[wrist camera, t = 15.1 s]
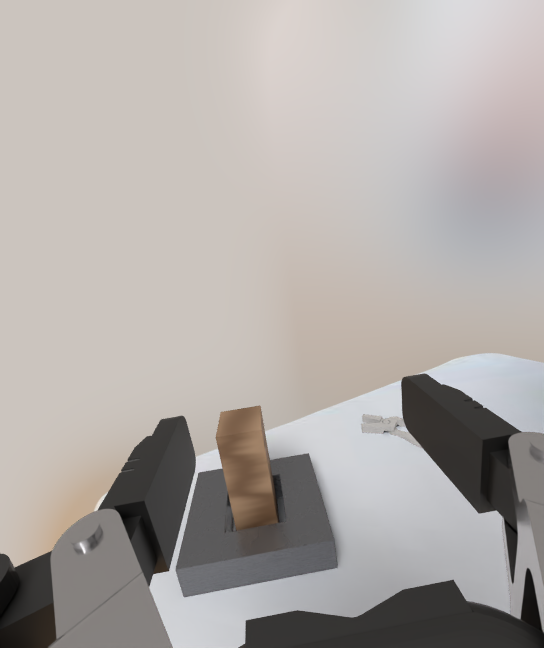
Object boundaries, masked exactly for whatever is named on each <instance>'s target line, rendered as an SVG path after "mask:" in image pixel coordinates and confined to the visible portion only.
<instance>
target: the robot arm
mask: <svg viewBox="0 0 544 648" xmlns="http://www.w3.org/2000/svg"><path fill="white" fill-rule="evenodd" d="M401 387H402V413H403V420H404V423H405V426H406V428H407V430H408V431H409V433H410V434H411V435H412V436H413V437H414V438H415V440H416V441H417V442H418V443H419V444H420V445H421V447H422V448H423V449H424V450H425V451H426V452H427V454H428V455H429V456H430V457H431V458H432V459H433V461H434V462H435V463H436V464H437V465H438V466H439V468H440V469H441V470H442V471H443V472H444V473H445V475H446V476H447V477H448V478H449V479H450V480H451V482H452V483H453V484H454V485H455V486H456V487H457V489H458V490H459V491H460V492H461V493H462V494H463V495H464V497H465V498H466V499H467V500H468V501H469V502H470V504H471V505H472V506H473V507H474V508H475V509H476V511H477V512H478V513H479V514H480V513H485V512H490V511H495V510H497V511H498V512H499V513H500V514H501V516H502V532H503V541H504V550H505V559H506V568H507V577H508V586H509V595H510V614H508V613H506V612H503V611H501V610H498V609H495V608H493V607H490V606H487V605H483V604H479V603H475V602H469V601H466V600H465V598H464V596H463V595H462V593H461V592H460V590H459V588H458V587H457V585H456V583H455V582H454V580H450V581H445V582H440V583H435V584H430V585H425V586H420V587H415V588H409V589H404V590H402V591H400V592H399V593H397V594H395V595H394V596H392V597H390V598H389V599H387V600H385V601H384V602H382V603H380V604H379V605H377V606H375V607H374V608H372V609H370V610H369V611H367V612H365V613H364V614H362V615H360V616H358V617H354V618H351V617H342V616H335V615H328V614H320V613H313V612H305V611H298V610H297V611H292V612H287V613H282V614H277V615H272V616H267V617H261V618H256V619H251V620H246V639H245V644H244V645H242V646H240V647H239V648H544V434H541V433H535V432H521V431H519V430H518V429H516V428H515V427H513V426H512V425H510V424H509V423H507V422H506V421H504V420H503V419H502V418H500V417H499V416H497V415H496V414H494V413H493V412H491V411H490V410H488V409H487V408H483V406H482V405H481V404H479V403H478V402H476V401H473V400H472V398H471V397H469V396H468V395H466V394H465V393H463V392H462V391H460V390H458V389H455V388H452V387H450V386H447V385H444V384H443V385H441V384H440V383H438V382H437V381H436V380H434V379H433V378H431V377H430V376H429V375H427V374H419V375H413V376H408V377H404V378H403V379H402V382H401ZM195 465H196V459H195V452H194V448H193V444H192V441H191V437H190V433H189V430H188V426H187V422H186V419H185V418H184V416H178V417H173V418H167V419H162V420H160V422H159V424H158V425H157V428H156V429H155V431H154V433H153V435H152V436H147V437H146V438H145V439H144V440H143V441H142V442H140V443H139V445H137V446H136V447H135V448H134V450H133V452H132V453H131V455H130V457H129V458H128V462H126V463H125V465H124V467H123V468H122V470H121V471H122V472H121V473H119V475H118V477H117V478H116V480H115V482H114V484H113V485H112V487H111V489H110V490H109V492H108V494H107V495H106V497H105V499H104V500H103V502H102V504H101V505H100V507H99V509H98V510H97V511H95V512H93V513H90V514H88V515H87V516H85V517H83V518H81V519H80V520H78V521H77V522H76V523H74V524H73V525H72V526H71V527H70V528H69V529H67V530H66V532H65V533H64V534H63V535H62V536H61V537H60V539H59V540H58V541H57V543H56V544H55V546H54V549H53V550H52V551H51V552H48V553H46V554H44V555H42V556H39V557H37V558H35V559H33V560H30V561H28V562H26V563H24V564H21V565H20V566H17V567H15V568H14V566H13V564H12V563H11V561H10V559H9V557H8V556H7V555H5V554H0V648H173V647H172V644H171V642H170V639H169V637H168V634H167V632H166V629H165V627H164V624H163V622H162V619H161V617H160V614H159V612H158V609H157V607H156V604H155V602H154V599H153V597H152V594H151V592H150V589H149V586H150V583H151V579H152V576H153V574H156V573H161V572H167V571H169V568H170V565H171V561H172V557H173V553H174V549H175V545H176V541H177V538H178V534H179V530H180V526H181V522H182V518H183V514H184V511H185V507H186V503H187V499H188V495H189V491H190V488H191V484H192V480H193V476H194V472H195Z"/></svg>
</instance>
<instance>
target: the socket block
mask: <svg viewBox="0 0 544 648" xmlns="http://www.w3.org/2000/svg"><path fill="white" fill-rule="evenodd" d="M270 465H271V471H272V477H273V483H274V488H275V494H276V498H279V497H283V500H284V508H285V515H286V522H281V523H275V524H270V525H265V526H259V527H254V528H248V529H243V530H238V531H232V521H233V513H232V508H231V504H230V499H229V495H228V490H227V486H226V481H225V477H224V472H223V469H217V470H212V471H206V472H200V473H198V478H197V482H196V486H195V490H194V494H193V499H192V503H191V507H190V511H189V515H188V520H187V524H186V528H185V532H184V537H183V541H182V545H181V549H180V553H179V558H178V562H177V566H176V573H177V576H178V580H179V583H180V586H181V589H182V593H183V596H184V597H187V596H193V595H198V594H203V593H208V592H213V591H219V590H224V589H229V588H234V587H239V586H244V585H250V584H255V583H260V582H265V581H270V580H276V579H281V578H286V577H291V576H296V575H302V574H307V573H312V572H317V571H322V570H327V569H333V568H337V560H336V551H335V542H334V537H333V534H332V531H331V527H330V524H329V520H328V517H327V514H326V510H325V507H324V504H323V500H322V497H321V493H320V490H319V487H318V483H317V480H316V476H315V473H314V470H313V466H312V463H311V460H310V456H309V453H308V454H302V455H297V456H291V457H285V458H280V459H274V460H270Z"/></svg>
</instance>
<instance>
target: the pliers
mask: <svg viewBox="0 0 544 648" xmlns="http://www.w3.org/2000/svg"><path fill="white" fill-rule="evenodd" d="M362 418H363V422H364V423H365V424H361V425H362V432H363V433H377V434H383V432H384V431H387V432H389V433H390V434H391V435H395V436H399V437H401V438H403V439H405V440H407V441H409V442H410V443H412V444H413V445H416V446H418V447H420V448H422V447H421V445H420V444H419V443H418V442H417V441H416V440H415V438H414V437H413V436H412V435H411V434H410V433H408V432H404V431H400V430H397V428H396V426H397V425H399V426H400V427H405V423H404V420H403V419H401V418H399V417H390V418H388V419H383V418H382V416H374V415H365V414H363V416H362Z"/></svg>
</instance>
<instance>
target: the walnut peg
mask: <svg viewBox="0 0 544 648" xmlns="http://www.w3.org/2000/svg"><path fill="white" fill-rule="evenodd" d="M216 440H217V445H218V450H219V454H220V459H221V463H222V468H223V472H224V477H225V481H226V486H227V490H228V495H229V499H230V504H231V508H232V513H233V517H234V522H235V526H236V531H238V530H243V529H248V528H254V527H259V526H265V525H270V524H275V523H279V517H278V507H277V500H276V494H275V488H274V483H273V477H272V471H271V465H270V459H269V453H268V447H267V442H266V436H265V430H264V424H263V418H262V412H261V407H260V406H255V407H249V408H243V409H237V410H231V411H224V412H221V414H220V419H219V424H218V429H217V434H216Z"/></svg>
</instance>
